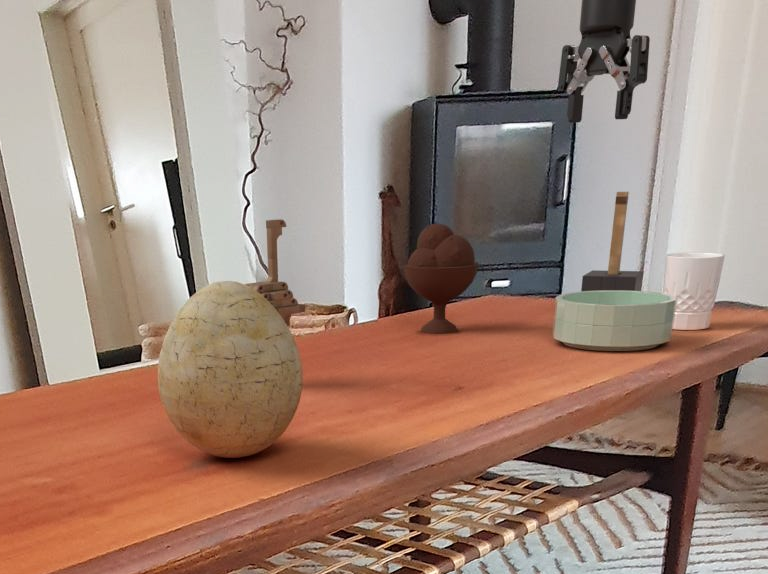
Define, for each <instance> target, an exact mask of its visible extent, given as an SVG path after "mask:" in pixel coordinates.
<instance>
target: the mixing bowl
mask: <svg viewBox="0 0 768 574" xmlns="http://www.w3.org/2000/svg"><path fill="white" fill-rule="evenodd" d="M677 299H678V298H677V297H675V296H673V295H669V294H664V293H663V292H655V291H647V290H646V291H645V290H641V291H628V290H597V291H581V290H580V291H573V292H572V291H571V292H566V293H565V292H564V293H561V294H559V295H557V296H555V300H554V312H553V322H552V323H553V324H552V332H551V336H552V338H553V339H554V340H556V341H559V342H561V343H562V344H563V345H565V346H567V347H570V348H574V349H579V350H587V351H596V352H597V351H600V352H634V351H645V350H651V349H654V348H657V347H659V345H661V344H664V343H667V342H670V341H671V340H672V338H673V334H674V333H673V332H674V329H673V327H674V320H675V313H676V306H677Z"/></svg>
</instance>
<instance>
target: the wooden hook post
mask: <svg viewBox="0 0 768 574" xmlns="http://www.w3.org/2000/svg"><path fill="white" fill-rule="evenodd" d="M286 227H287V222H286V221H285V220H284V219H282V218H281V219H279V218H277V219H266V220H265V228H266V250H267V279H266V280H264V281H263V280H262V281H257V282H249V283H245V284H244V285H247V286H249V287H251V288H252V289H254V290H255V291H257V292H258V293H260V294H261V295H262V296H263V297H264V298H265V299H267V300H268V301H269V302H270V303H271V304H272V305H273V307H274V308H275V309H276V310H277V312H278V313H279V314H280V315H281V317H282V318H283V320H284V321H285V323H286V325H287V326H288V327H290V326H291V318H292V315H295V314H301V313H305V312H306V304H304V303H299V302H298V299H296V298H295V297H294V293H293V292H292V290H290V289H289V285H288V283H286V281H279V264H278V239H279V237H280V236H282V235H283V228H286Z"/></svg>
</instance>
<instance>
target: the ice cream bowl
mask: <svg viewBox="0 0 768 574" xmlns="http://www.w3.org/2000/svg"><path fill="white" fill-rule="evenodd" d="M479 266H480V263H479V262H476V259H475V251H474V248H473V246H472V244H471V242H469V240H468V239H467V238H466V237H463V236H462V235H459V234H454V231H453V230H452V229H451V228H450V227H449V226H448V225H446V224H444V223H439V222H438V223H432V224H429V225H427V226H425V228H423V230H422V231H421V232H420V233H419V235H418V238H417V242H416V249H415V250H414V251H413V252H412V253H411V254H410V256H409V258H408V260H407V263H406V264H405V265H403V269H404V270H403V271H404V275H405V279H406V281H407V283H408V286H410V288H411V289H412V290H413V291H414V293H416V294H417V295H418V296H420V297H421V298H422V299H424V300H426V301H429V302H431V304H432V306H433V319H431V320H430V321H428V322H427V323H425V324H424V325H423V326H422V327H421V328H420V332H422V333H426V334H450V333H455V332H457V331H458V329H457V326H456V324H454V323H453V322H451V321H450V320H448V319H447V318H446V308H447V305H448V303H449V302H451V301H453V300H455V299H457V298H458V297H459V296H461V295H463V293H464V292H466V290H467V289H468V288H469V287H470V286H471V285H472V283H473V282H474V280H475V278H476V276H477V273H478V269H479Z"/></svg>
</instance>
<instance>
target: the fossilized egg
mask: <svg viewBox="0 0 768 574" xmlns="http://www.w3.org/2000/svg"><path fill="white" fill-rule="evenodd" d="M156 373H157V387H158V388H157V389H158V393H159V397H160V401H161V404H162V407H163V409H164V412H165V413H166V415H167V417H168V419H169V421H170V423H171V424H172V426H173V427H174V428H175V430H176V431H177V432H178V433H179V435H180V436H181V437H182V438H183V439H184V440H185V441H187V442H188V443H189V444H191V445H192V446H194V447H195V448H196V449H198V450H199V451H202V452H204V453H206V454H209V455H211V456H214V457H219V458H226V459H227V458H228V459H236V458H237V459H238V458H244V457H249V456H253V455H256V454H258V453H259V452H262V451H264V450H265V449H267V448H269V447H270V446H272V444H274V443H275V442H276V441H277V440H278V439H279V438H281V436H282V435H283V434H284V433H285V432H286V430H287V429H288V428H289V426H290V424H291V422H292V421H293V419H294V417H295V415H296V412H297V410H298V407H299V405H300V401H301V397H302V393H303V392H302V391H303V385H304V384H303V379H304V378H303V365H302V361H301V356H300V352H299V348H298V346H297V343H296V340H295V338H294V336H293V333H292V332H291V330H290V328H289V326H287V325H286V323H285V321H284V320H283V318H282V317H281V315H280V314H279V313H278V312H277V310H276V309H275V308H274V307H273V305H272V304H271V303H270V302H269V301H268V300H267V299H265V298H264V297H263V296H262V295H261V294H260V293H258V292H257V291H255V290H254V289H252V288H251V287H249V286H247V285H245V284H244V283H242V282H239V281H233V280H221V281H216V282H215V281H214V282H212V283H209V284H208V285H207V284H206V285H205V286H203V287H202V288H200V289H199V290H197V291H196V292H195V293H193V294H192V295H191V296H190V297H189V298H188V299H187V300H186V302H185V303H184V304H183V305H182V306H181V307H180V309H178V312H177V313H176V315H175V317H174V318H173V319H172V321H171V323H170V325H169V327H168V330H167V332H166V333H165V336H164V338H163V342H162V345H161V349H160V352H159V356H158V364H157V372H156Z"/></svg>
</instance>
